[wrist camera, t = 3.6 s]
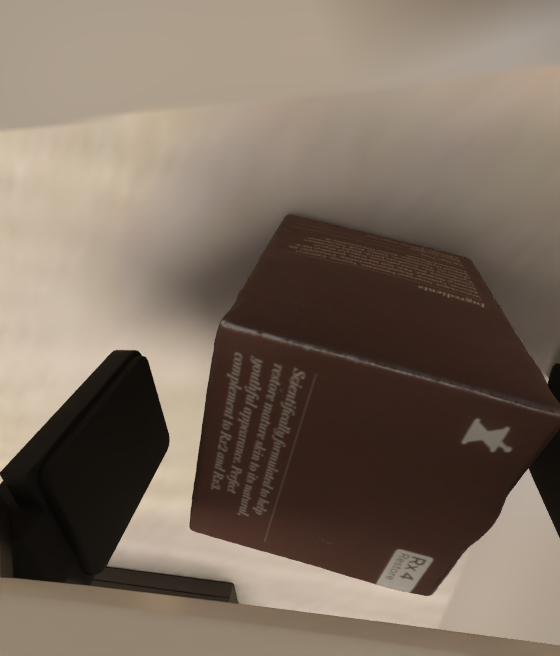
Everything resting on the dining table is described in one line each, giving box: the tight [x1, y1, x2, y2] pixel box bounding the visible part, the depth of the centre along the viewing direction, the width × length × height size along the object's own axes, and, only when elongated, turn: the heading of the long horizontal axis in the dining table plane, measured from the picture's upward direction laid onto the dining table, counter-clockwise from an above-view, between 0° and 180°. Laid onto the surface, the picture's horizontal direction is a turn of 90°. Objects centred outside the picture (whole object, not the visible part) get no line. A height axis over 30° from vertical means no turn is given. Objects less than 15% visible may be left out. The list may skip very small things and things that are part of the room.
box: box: [190, 214, 560, 596], centre depth 11 cm, size 6×6×7 cm
